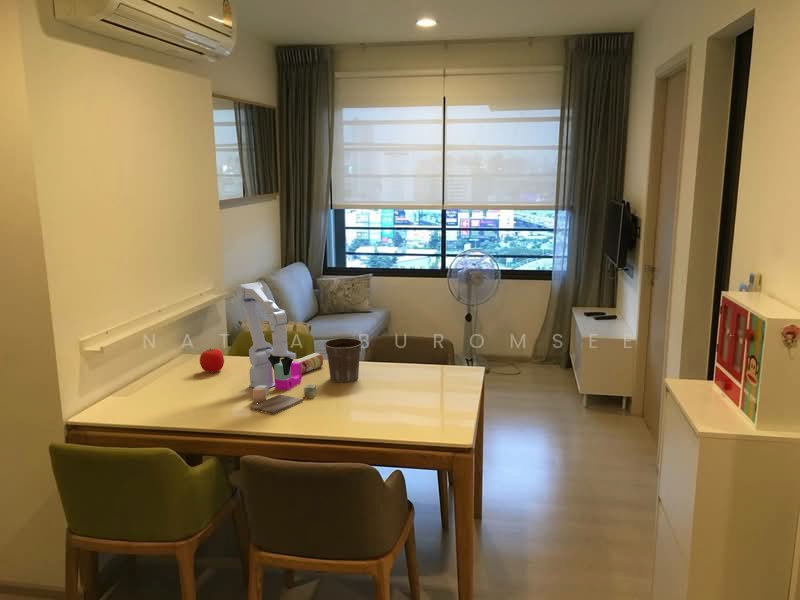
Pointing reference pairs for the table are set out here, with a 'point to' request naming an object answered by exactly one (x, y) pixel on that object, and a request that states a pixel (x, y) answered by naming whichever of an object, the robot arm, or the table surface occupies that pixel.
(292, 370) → the toy block
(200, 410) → the table surface
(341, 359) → the plant pot
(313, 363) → the snack package
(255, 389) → the peach rounded piece
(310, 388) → the olive block
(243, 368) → the table surface
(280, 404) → the board
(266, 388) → the grey cube
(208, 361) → the tomato
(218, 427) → the table surface
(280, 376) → the teal block
